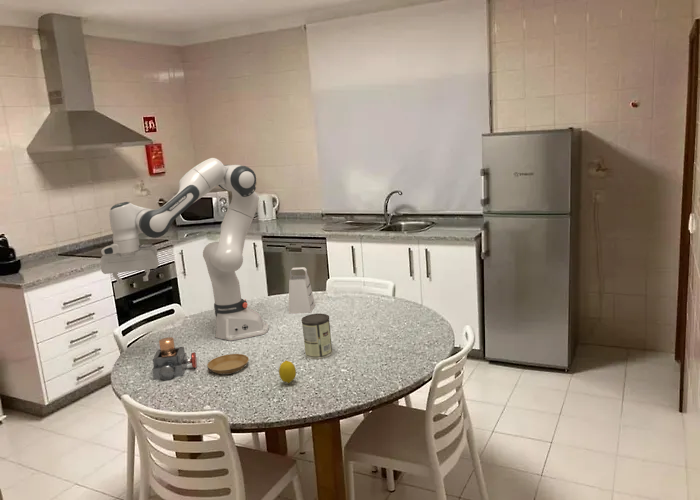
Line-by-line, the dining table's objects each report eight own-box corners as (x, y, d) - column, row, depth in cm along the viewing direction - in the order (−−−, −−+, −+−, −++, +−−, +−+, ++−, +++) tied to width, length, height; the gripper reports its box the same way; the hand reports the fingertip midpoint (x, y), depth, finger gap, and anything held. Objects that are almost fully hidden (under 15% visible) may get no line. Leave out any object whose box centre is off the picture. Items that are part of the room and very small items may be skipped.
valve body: (161, 364, 214) (158, 346, 212) (199, 359, 215) (196, 341, 214) (152, 382, 198) (149, 363, 197) (193, 376, 200) (190, 358, 198)
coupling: (177, 356, 208) (174, 336, 207) (176, 362, 203) (172, 341, 202) (163, 358, 208) (160, 338, 206) (161, 364, 203) (157, 343, 201)
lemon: (280, 380, 191) (278, 358, 189) (297, 378, 191) (294, 356, 189) (280, 387, 185) (277, 365, 184) (297, 385, 186) (294, 363, 184)
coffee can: (311, 347, 217) (307, 312, 214) (336, 349, 214) (333, 313, 211) (300, 358, 208) (296, 322, 205) (326, 360, 204) (323, 323, 202)
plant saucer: (214, 361, 213) (213, 354, 212) (253, 358, 212) (252, 352, 211) (203, 378, 198) (202, 371, 198) (244, 375, 197) (243, 368, 197)
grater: (293, 306, 271) (289, 266, 267) (315, 305, 269) (311, 265, 265) (288, 313, 261) (284, 271, 256) (310, 313, 259) (306, 270, 255)
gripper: (157, 241, 214) (163, 277, 217) (101, 247, 212) (107, 283, 215) (154, 245, 208) (159, 281, 211) (96, 251, 206) (103, 287, 209)
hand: (133, 282), depth 213 cm, fingers open, 8 cm apart
